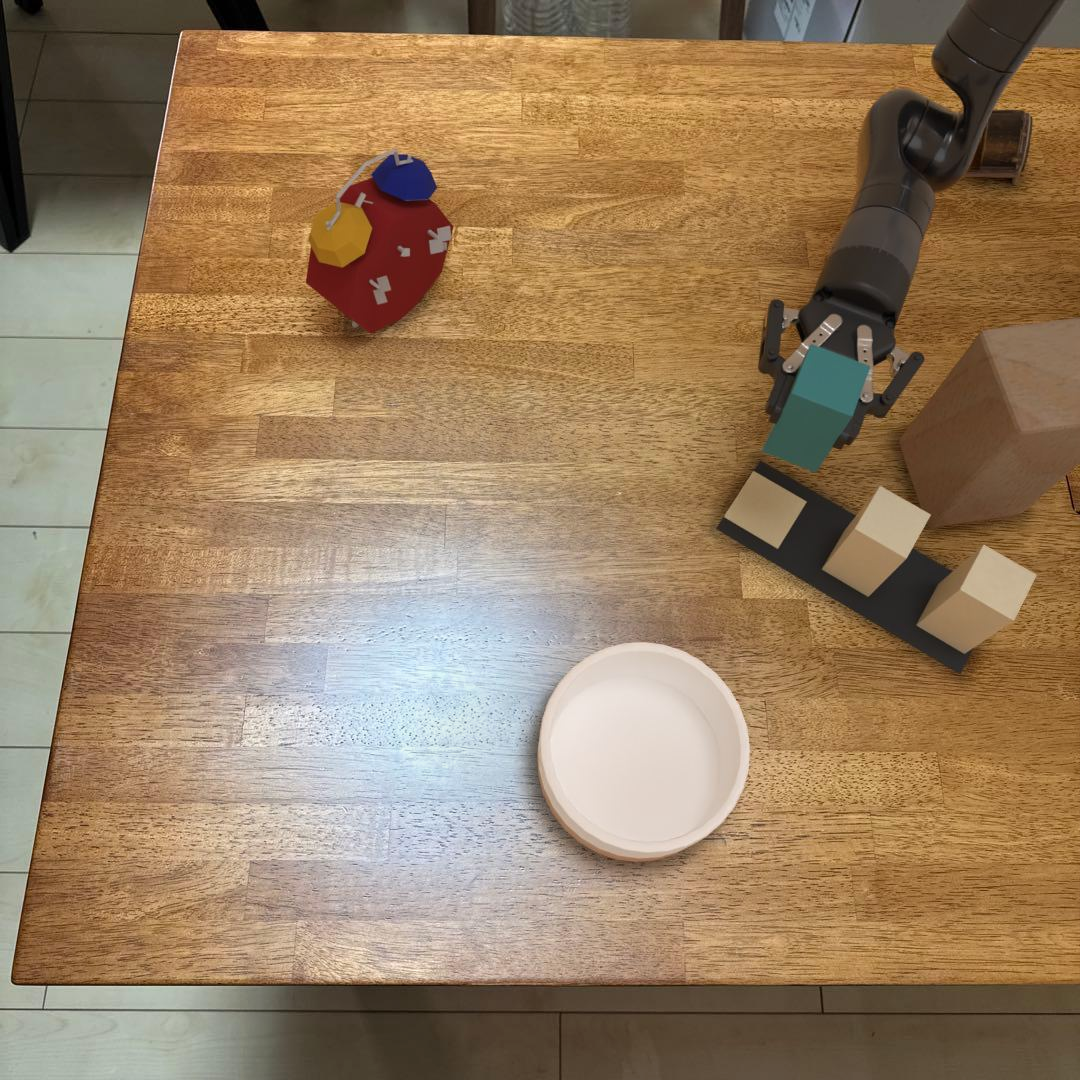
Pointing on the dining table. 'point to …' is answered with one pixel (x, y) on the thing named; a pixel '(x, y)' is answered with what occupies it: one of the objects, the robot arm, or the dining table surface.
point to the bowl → (642, 751)
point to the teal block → (816, 408)
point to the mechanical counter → (1004, 145)
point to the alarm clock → (380, 243)
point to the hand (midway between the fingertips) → (807, 430)
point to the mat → (808, 540)
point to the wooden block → (999, 425)
